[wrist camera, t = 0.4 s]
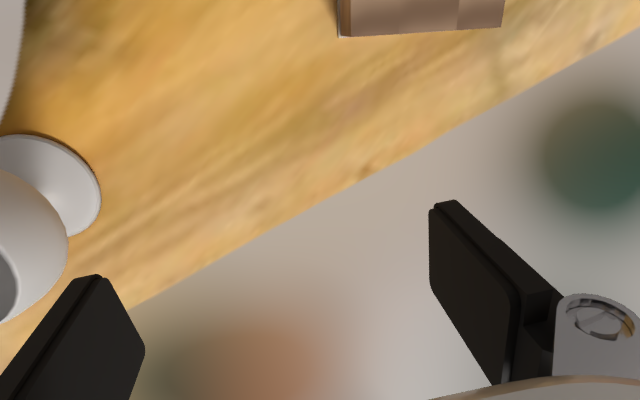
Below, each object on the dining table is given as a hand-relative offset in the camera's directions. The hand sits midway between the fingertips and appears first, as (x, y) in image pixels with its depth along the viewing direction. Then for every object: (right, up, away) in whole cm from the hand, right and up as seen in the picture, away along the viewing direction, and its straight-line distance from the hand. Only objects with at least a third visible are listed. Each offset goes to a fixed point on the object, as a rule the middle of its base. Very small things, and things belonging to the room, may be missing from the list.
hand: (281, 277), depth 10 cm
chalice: (-29, +4, +28) cm, 40 cm away
